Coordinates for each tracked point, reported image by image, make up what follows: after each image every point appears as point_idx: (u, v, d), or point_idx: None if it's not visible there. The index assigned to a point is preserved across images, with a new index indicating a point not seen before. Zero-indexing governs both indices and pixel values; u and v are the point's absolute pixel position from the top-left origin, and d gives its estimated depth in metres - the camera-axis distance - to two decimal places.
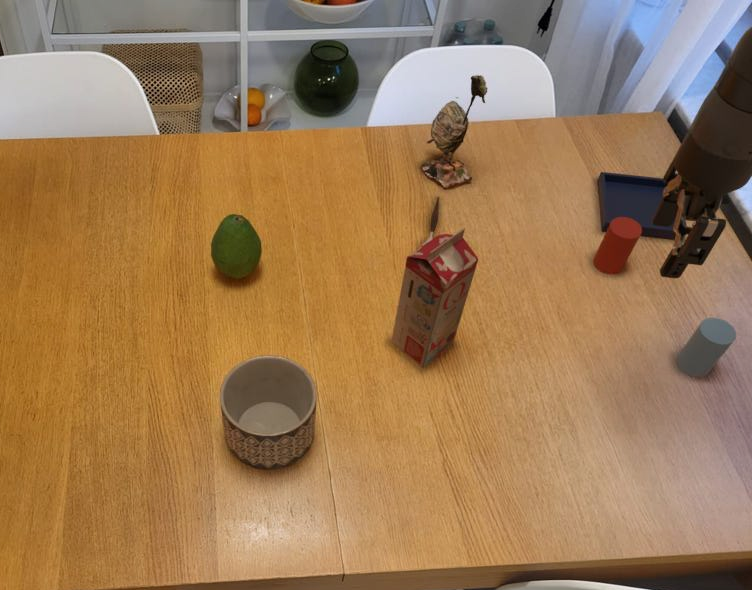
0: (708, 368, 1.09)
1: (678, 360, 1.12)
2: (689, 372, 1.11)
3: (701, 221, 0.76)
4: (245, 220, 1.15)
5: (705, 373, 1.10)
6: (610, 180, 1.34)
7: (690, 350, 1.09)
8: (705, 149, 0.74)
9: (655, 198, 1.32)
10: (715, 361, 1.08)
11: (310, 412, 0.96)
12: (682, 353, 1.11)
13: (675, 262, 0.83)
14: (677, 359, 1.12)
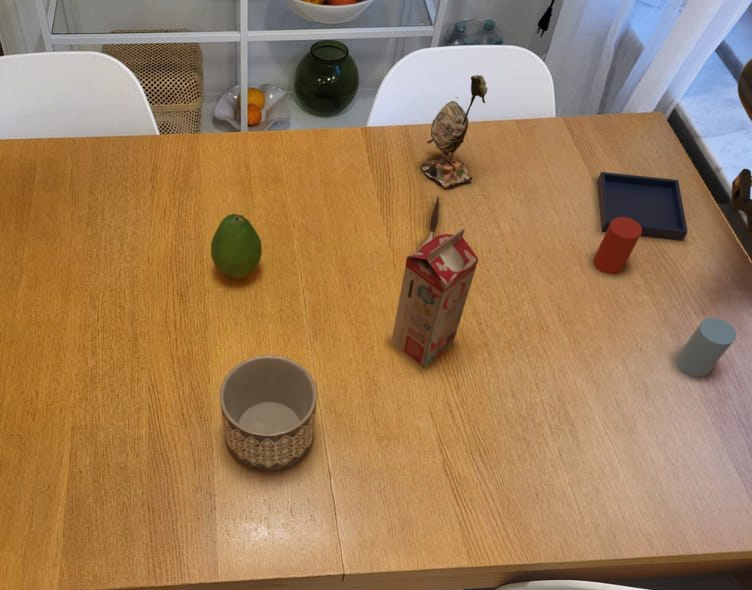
0: (708, 368, 1.09)
1: (678, 360, 1.12)
2: (689, 372, 1.11)
3: (734, 181, 1.06)
4: (245, 220, 1.15)
5: (705, 373, 1.10)
6: (610, 180, 1.34)
7: (690, 350, 1.09)
8: None
9: (655, 198, 1.32)
10: (715, 361, 1.08)
11: (310, 412, 0.96)
12: (682, 353, 1.11)
13: (747, 218, 1.02)
14: (677, 359, 1.12)
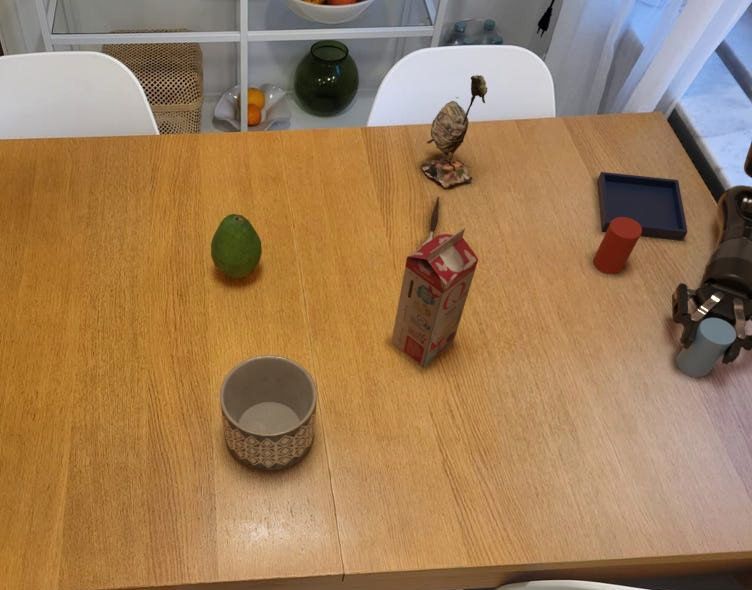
0: (708, 368, 1.09)
1: (678, 360, 1.12)
2: (689, 373, 1.11)
3: None
4: (245, 220, 1.15)
5: (705, 373, 1.10)
6: (610, 180, 1.34)
7: (690, 350, 1.09)
8: None
9: (655, 198, 1.32)
10: (715, 361, 1.08)
11: (310, 412, 0.96)
12: (682, 353, 1.11)
13: (683, 330, 1.09)
14: (677, 359, 1.12)
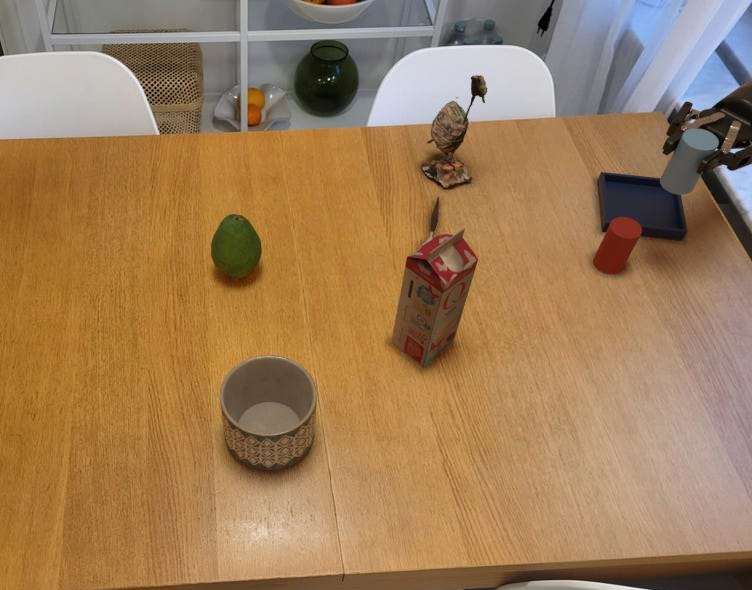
0: (685, 182, 1.09)
1: (662, 175, 1.12)
2: (667, 187, 1.11)
3: None
4: (245, 220, 1.15)
5: (683, 190, 1.10)
6: (610, 180, 1.34)
7: (671, 160, 1.09)
8: None
9: (655, 198, 1.32)
10: (693, 174, 1.08)
11: (310, 412, 0.96)
12: (666, 166, 1.11)
13: None
14: None
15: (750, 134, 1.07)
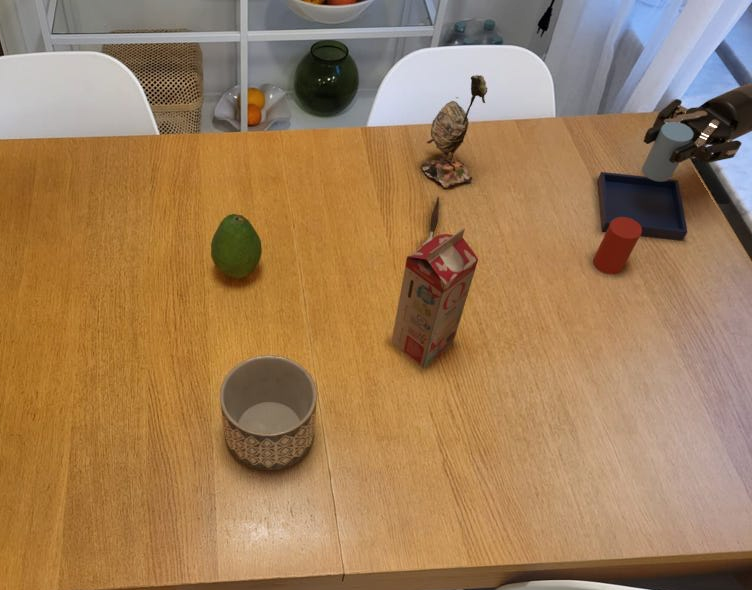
0: (662, 170, 1.21)
1: (644, 163, 1.25)
2: (646, 173, 1.24)
3: None
4: (245, 220, 1.15)
5: (660, 177, 1.23)
6: (610, 180, 1.34)
7: (651, 149, 1.22)
8: None
9: (655, 198, 1.32)
10: (668, 163, 1.20)
11: (310, 412, 0.96)
12: (648, 155, 1.24)
13: None
14: None
15: (726, 133, 1.19)
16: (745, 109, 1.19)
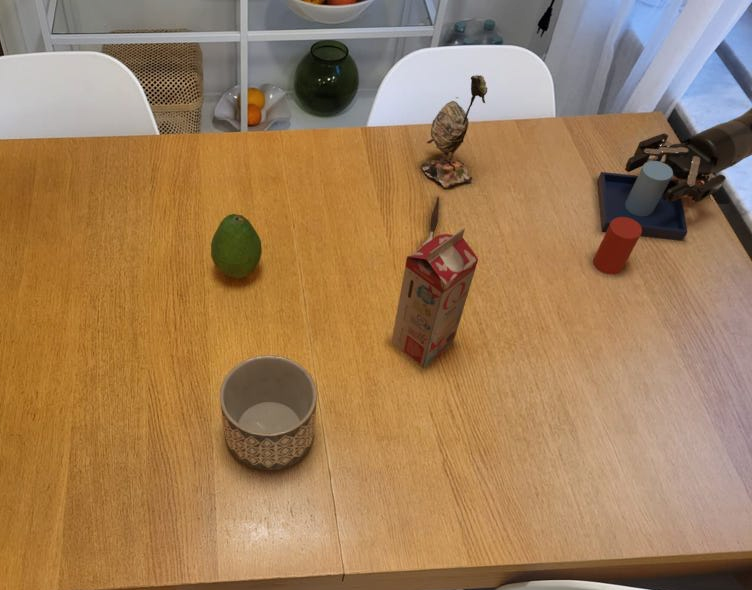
0: (643, 206, 1.28)
1: (627, 198, 1.31)
2: (629, 208, 1.30)
3: None
4: (245, 220, 1.15)
5: (642, 212, 1.29)
6: (610, 180, 1.34)
7: (633, 186, 1.28)
8: None
9: None
10: (649, 199, 1.26)
11: (310, 412, 0.96)
12: None
13: None
14: None
15: (707, 169, 1.25)
16: (724, 146, 1.25)
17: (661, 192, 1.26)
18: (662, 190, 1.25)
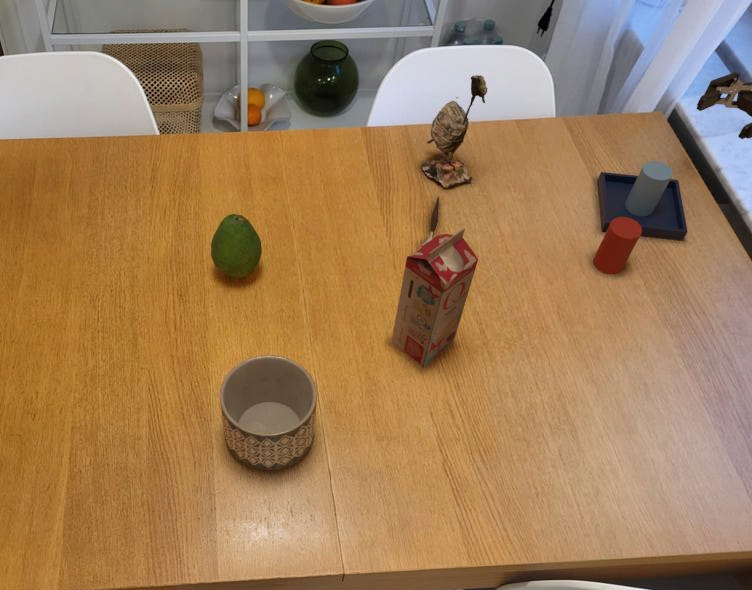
0: (643, 206, 1.28)
1: (627, 198, 1.31)
2: (629, 208, 1.30)
3: None
4: (245, 220, 1.15)
5: (642, 212, 1.29)
6: (610, 180, 1.34)
7: (633, 186, 1.28)
8: None
9: None
10: (649, 199, 1.26)
11: (310, 412, 0.96)
12: None
13: None
14: None
15: None
16: None
17: (661, 192, 1.26)
18: (662, 190, 1.25)
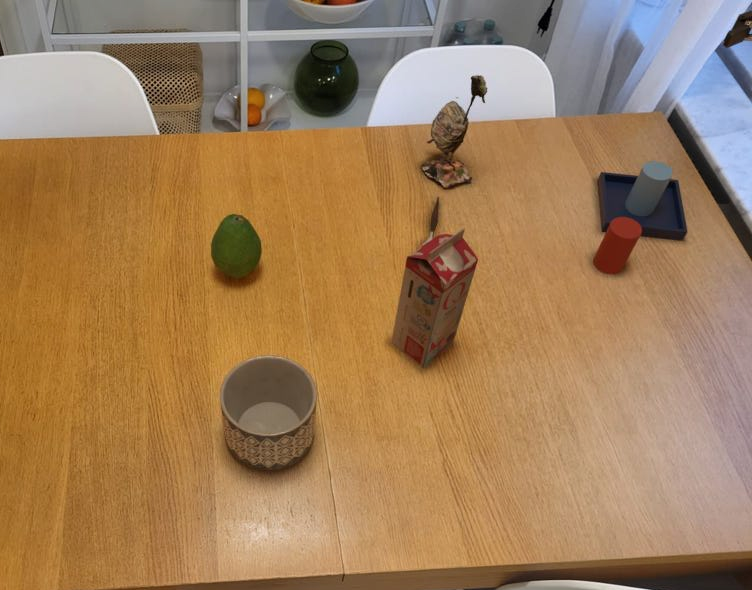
0: (643, 206, 1.28)
1: (627, 198, 1.31)
2: (629, 208, 1.30)
3: None
4: (245, 220, 1.15)
5: (642, 212, 1.29)
6: (610, 180, 1.34)
7: (633, 186, 1.28)
8: None
9: None
10: (649, 199, 1.26)
11: (310, 412, 0.96)
12: None
13: None
14: None
15: None
16: None
17: (661, 192, 1.26)
18: (662, 190, 1.25)
